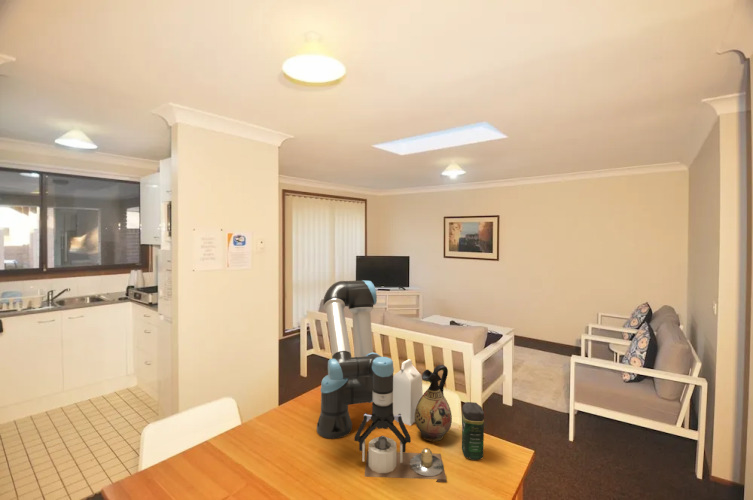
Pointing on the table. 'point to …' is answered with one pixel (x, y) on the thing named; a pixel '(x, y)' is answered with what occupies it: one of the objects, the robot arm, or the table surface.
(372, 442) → the ring
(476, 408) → the coffee jar
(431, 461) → the hub
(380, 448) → the stand rod
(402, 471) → the board
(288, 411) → the table surface
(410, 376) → the milk
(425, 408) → the ceramic jug
